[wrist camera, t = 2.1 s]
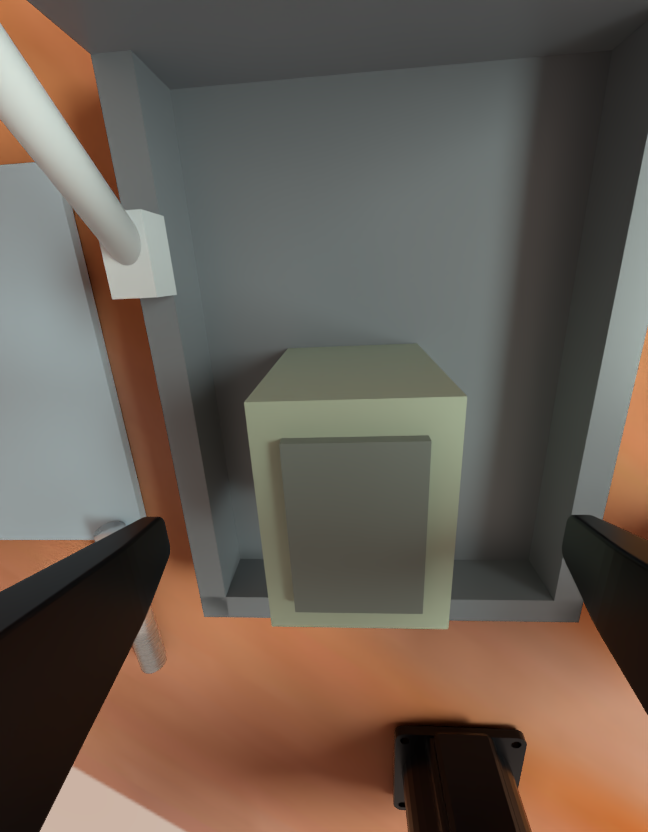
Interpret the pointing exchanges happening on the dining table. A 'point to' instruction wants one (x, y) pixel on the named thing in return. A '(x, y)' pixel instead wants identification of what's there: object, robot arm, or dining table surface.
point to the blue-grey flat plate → (54, 377)
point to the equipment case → (375, 240)
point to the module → (357, 486)
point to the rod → (149, 636)
